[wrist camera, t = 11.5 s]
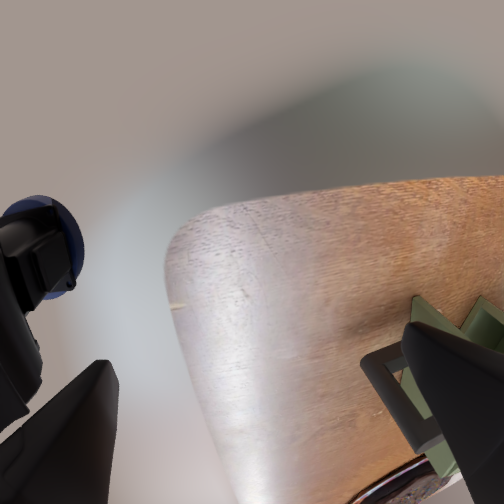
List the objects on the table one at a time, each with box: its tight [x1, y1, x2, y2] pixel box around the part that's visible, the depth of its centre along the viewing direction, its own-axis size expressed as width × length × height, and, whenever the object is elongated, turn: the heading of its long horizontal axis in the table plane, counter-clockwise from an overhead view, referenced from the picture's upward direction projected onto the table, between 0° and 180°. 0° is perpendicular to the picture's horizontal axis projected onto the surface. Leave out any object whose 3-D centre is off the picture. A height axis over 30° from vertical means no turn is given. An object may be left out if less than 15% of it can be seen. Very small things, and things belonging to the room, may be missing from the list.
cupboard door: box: [360, 296, 472, 479], centre depth 21 cm, size 8×16×12 cm, turn 11°
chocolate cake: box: [349, 456, 453, 504], centre depth 41 cm, size 28×28×7 cm
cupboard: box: [446, 296, 504, 477], centre depth 24 cm, size 12×16×12 cm
